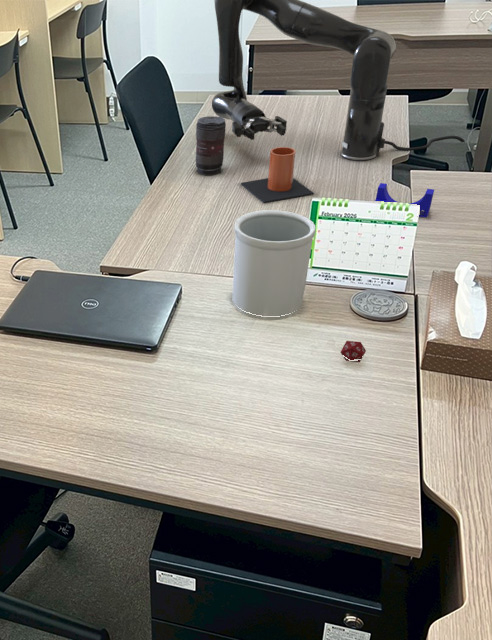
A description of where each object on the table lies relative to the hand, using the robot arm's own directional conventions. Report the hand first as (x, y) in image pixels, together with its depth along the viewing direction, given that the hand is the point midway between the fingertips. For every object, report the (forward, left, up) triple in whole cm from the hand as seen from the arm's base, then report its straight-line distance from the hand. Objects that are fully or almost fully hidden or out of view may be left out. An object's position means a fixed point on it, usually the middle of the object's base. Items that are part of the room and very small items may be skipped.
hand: (268, 134), depth 194 cm
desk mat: (+2, +11, -12) cm, 16 cm away
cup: (+1, +11, -11) cm, 16 cm away
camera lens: (+13, -9, -12) cm, 20 cm away
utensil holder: (+30, +63, -12) cm, 71 cm away
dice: (+25, +86, -12) cm, 90 cm away
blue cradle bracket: (-18, +36, -12) cm, 42 cm away
